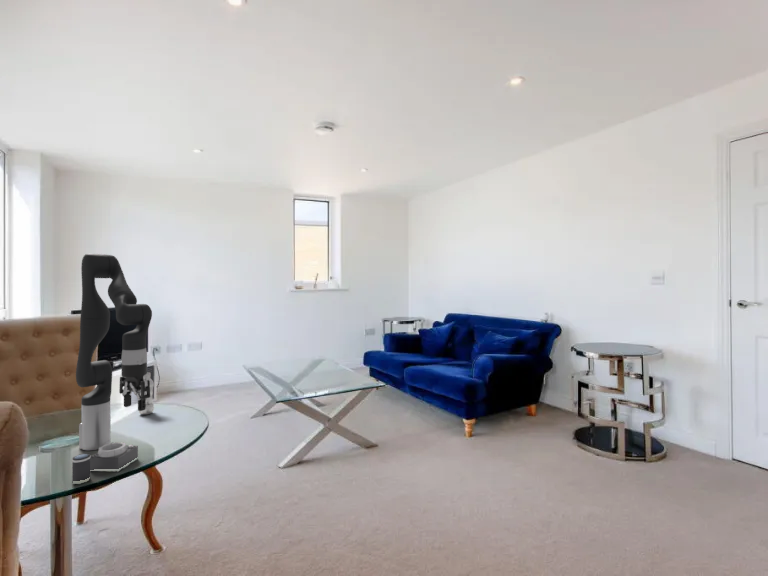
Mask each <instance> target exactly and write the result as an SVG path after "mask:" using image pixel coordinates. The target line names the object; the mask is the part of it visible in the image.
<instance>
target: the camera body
mask: <svg viewBox="0 0 768 576" xmlns="http://www.w3.org/2000/svg"><path fill="white" fill-rule="evenodd" d="M138 446H139V445H133V444H128V445H127V443H126V442H122V441H120V442H119V441H118V442H111V443H110V444H106V445H103V446H102V447H100V448H99V449H97V450H98V451H97V452H96V453H94V454H93V455H91V458H90V470H94V469H119V468H121V467H123V466H124V465H126V464H127V463H129V462H131V461H132V460H134V459H135V458H137V457H138V458H139V447H138Z"/></svg>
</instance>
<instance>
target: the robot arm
mask: <svg viewBox="0 0 768 576" xmlns="http://www.w3.org/2000/svg"><path fill="white" fill-rule="evenodd" d="M80 269H81V291H82V292H81V293H82V294H81V308H80V322H79V323H80V325H79V346H78V347H79V349H78V355H77V360H76V371H75V381H76V384H77V386H79V388H88V387H94V386H96V387H95V388H94V389H92V390H91V391H90V392H88V393H85V394H84V395H83V396H82V397H81V400H80V401H81V402H80V403H81V423H79V424H78V426H79V427H78V439H79V440H78V444H79V445H78V448H79V449H80V450H83V451H96V450H99V448H100V447H102V446H103V445H106V444H110V443H112V442H111V439H112V437H111V433H112V431H111V429H112V428H111V425H112V424H111V423H112V422H111V395H112V381H113V367H112V365H111V363H110V361H109V360H106V359H103V360H95V361H92V359H93V357H94V356H93V355H94V353H95V351H96V349H97V347H98V346H99V344H100V343H101V342H102V341H103V339H104V338H105V337H106V335H107V334H108V332H109V329H110V325H111V324H110V323H111V321H110V320H111V311H110V308H108V306H107V304H106V302H105V301H104V300H103V299H102V297H101V296H100V294H99V292H98V291H97V288H96V281H95V280H96V279H111V282H110V284H109V285H108V287H107V294H108V297H109V299H110V301H111V303H112V304H113V305H114V309H115V310H114V311H115V319H116V321H117V323H119V324H120V325H122V326H134V325H136V327H135V328H134V329H133V330H130V331H127V332H124V333H123V334H122V337H121V339H122V340H121V341H122V343H121V344H122V346H121V347H122V348H121V349H122V351H121V359H120V360H121V376H120V377H119V394H120V395H122V397H123V408H128V407H130V406H132V394H134V395H135V396H136V397H137V411H138V412H139V411H143V410H145V409H146V399H147V398H150V381H149V380H147V381H144V379H143V376H144V375H146V374H147V372H148V353H147V334H148V331H149V326H150V324H151V321H152V318H153V310H152V308H151V306H150V305H148V304H146V303H138V300H137V296H136V295H135V293H134V292H133V291H132V289H131V288H130V286H129V285H128V283H127V280H126V277H125V274H124V272H123V269H122V267H121V264H120V262H119V260H118V257H116V256H115V255H112V254H107V253H106V254H102V253H86V254H84V255H83V257H82V260H81V268H80ZM137 303H138V304H137ZM145 391H147V395H146V393H145ZM140 394H141V396H140Z"/></svg>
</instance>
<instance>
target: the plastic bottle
mask: <svg viewBox="0 0 768 576" xmlns="http://www.w3.org/2000/svg"><path fill="white" fill-rule="evenodd" d="M151 374H152V373H151V372H148V371H147V374H146V375H144V376H143V379H144V381H147V380H149V381H150V398H147V399H146V409H145V410H143V411H138V413H139V414H140V415H141V416H142V415H143V416H144V415H150V414H153V412H154V410H155V405H154V398H153V394H154V393H153V391H154V386H155V383H154V381H153V379H152V378H151ZM145 393H146V395H147V391H145ZM140 396H141V394H140Z"/></svg>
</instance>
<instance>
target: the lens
mask: <svg viewBox="0 0 768 576" xmlns="http://www.w3.org/2000/svg"><path fill="white" fill-rule="evenodd" d="M91 456H92V455H91V454H90V453H82V454H77V455H75V456H73V457H72V458H71V462H72V464H71V465H72V468H71V469H72V476H71V477H72V482H73V481H80V480H85V479H87V478H89V477H90V478H91V472H90V458H91Z"/></svg>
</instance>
